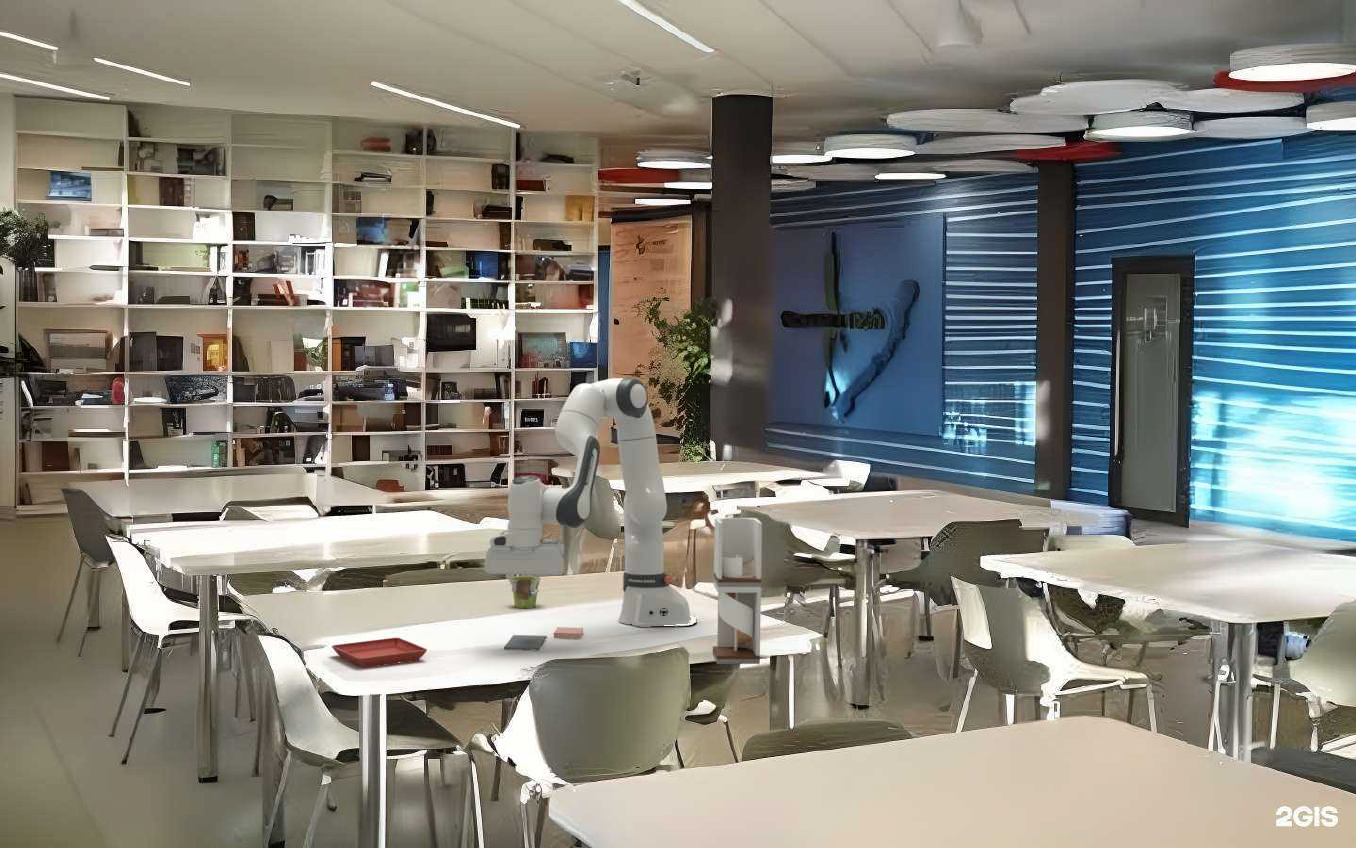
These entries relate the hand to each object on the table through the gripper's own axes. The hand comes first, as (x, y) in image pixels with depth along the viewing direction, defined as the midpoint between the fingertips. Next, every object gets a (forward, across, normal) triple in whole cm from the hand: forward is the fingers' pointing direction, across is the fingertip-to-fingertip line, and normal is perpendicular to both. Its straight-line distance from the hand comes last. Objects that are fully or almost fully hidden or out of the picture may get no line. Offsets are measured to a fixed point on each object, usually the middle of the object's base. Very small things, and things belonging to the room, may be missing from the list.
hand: (523, 591), depth 357 cm
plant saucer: (+15, +33, +18) cm, 41 cm away
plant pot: (+15, +8, -58) cm, 60 cm away
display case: (+14, -55, +10) cm, 58 cm away
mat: (+14, 0, -4) cm, 15 cm away
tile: (+14, -10, -11) cm, 20 cm away
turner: (+2, 0, -3) cm, 4 cm away
